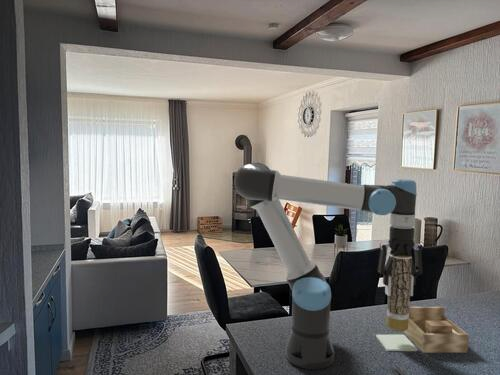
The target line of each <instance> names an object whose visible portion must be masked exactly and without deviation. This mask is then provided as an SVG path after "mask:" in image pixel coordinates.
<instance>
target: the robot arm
mask: <svg viewBox="0 0 500 375" xmlns="http://www.w3.org/2000/svg"><path fill="white" fill-rule="evenodd" d="M233 185H234V188H235V191H236V192H237V193H238V195H239V196H240V197H242V198H244V199H245V200H246V201H247V203H248V206H249V207H250V208H251V209H254V210H256V212H257V213H258V216H259V217H260V220H261V221H262V223H263V226H264V228H265V230H266V231H267V233H268V235H269V238H270V239H271V240H270V241H272V244H273V245H274V247H275V250H276V251H277V254H278V256H279V258H280V259H281V261H282V264H283V265H284V268H285V269H286V274H285V280H286V281H287V283H288V285H289V287H290V290H291V296H292V297H291V298H292V300H291V303H292V304H291V331H290V334H289V337H288V340H287V342H286V345H285V352H284V353H285V354H284V355H285V358H286V360H287V361H289V363H291V364H293V365H294V366H296V367H298V368H301V369H305V370H323V369H327V368H329V367H330V366H332V365H333V364H334V362H335V349H334V347H333V343H332V340H331V335H330V328H331V327H330V322H331V321H330V320H331V319H330V318H331V300H332V291H331V287H330V285H329V283H328V282H327V280H326V278H325V276H324V275H323V273H321V271H320V269H319V267H318V265H317V263H316V261H312V260H310V258H309V256H308V255H307V253H306V251H305V249H304V247H303V245H302V243H301V241H300V239H299V237H298V235H297V233H296V231H295V228H294V227H293V225H292V223H291V220H290V219H289V217H288V215H287V213H286V211H285V208H284V207H283V205H282V203H281V201H280V200H283V201H289V202H290V201H291V202H298V203H305V204H310V205H311V204H312V205H319V206H327V207H332V208H340V209H341V208H342V209H348V210H355V211H360V212H361V211H362V212H366V213H372V214H375V215H378V216H387V215H389V214H390V220H389V224H390V227H389V240H388V242H385V243H382V242H381V243H379V248H380V249H379V250H380V252H379V259H378V265H377V272H378V273H379V274H380V275H383V276H382V277H383V278H382V284H383V285H384V286H385V287H384V293H385V295H387V297H388V296H391V276H390V275H389V274H390V272H391V269H392V262H393V257H394V256H398V255H401V254H403V255H407V256H411V257H412V258H413V255H412V250H413V251H414V260H413V259H412V265H411V284H410V297H413V296H414V286H416V284H417V278H418V277H419V275H422V274H423V258H422V257H423V255H422V252H423V250H424V249H423V248H424V246H423V244H420V243H418V242H417V243H415V241H414V239H415V228H414V227H415V225H416V224H415V223H416V206H417V204H416V203H417V196H418V194H417V183H416V181H415V180H412V179H392V181H391V183H390V184H389V185H388V184H387V185H383V184H380V185H379V184H352V183H345V182H337V181H331V180H330V181H329V180H323V179H316V178H315V179H314V178H308V177H302V176H294V175H293V176H292V175H286V174H281V173H280V172H279V171H278V170H275V169H271V168H269V167H268V166H267V165H266V164H263V163H262V162H252V163H247V164H245V165H242V166H241V167H240V168H239V169H238V170H237V171H236V173H235V174H234V179H233ZM389 249H390V251H389V257H388V259H387V255H388V250H389ZM390 254H392V255H393V257H392V258H390Z"/></svg>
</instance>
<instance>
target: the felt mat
mask: <svg viewBox="0 0 500 375" xmlns="http://www.w3.org/2000/svg"><path fill="white" fill-rule="evenodd" d="M375 337H376V338H377V340H378V341H379V342H380V344H381V345H382V346H383V347H384V349H385V350H386V351H387V352H418V349H419V348H418V347H417V346H416V345H415V344H414V343H412V341H411V339H410V338H409V337H408V336H407V335H406V334H375Z"/></svg>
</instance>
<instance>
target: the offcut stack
mask: <svg viewBox="0 0 500 375" xmlns="http://www.w3.org/2000/svg"><path fill="white" fill-rule="evenodd" d="M452 328H453V326H452V325H451V324H450V323H448V322H447V321H426V324H425V329H426V332H425V333H457V332H456V331H454V330H453V329H452Z"/></svg>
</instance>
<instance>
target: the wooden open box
mask: <svg viewBox="0 0 500 375" xmlns="http://www.w3.org/2000/svg"><path fill="white" fill-rule="evenodd" d="M445 310H446V309H445V306H409V321H408V329H407V330H406V331H402V332H403V333H404V335H405V336H406V337H407V338H408V339H409V340H410V341H411V342H413V344H414V345H415V346H416V347H417V349H419V350H420V351H421V352H422V353H424V354H425V353H431V354H432V353H468V349H469V348H468V347H469V336H470V335H469V334H468V333H467V332H466V331H465V330H463V329H462V328H461V327H459V325H457V324H456V323H454V322H453V321H451V320H450V319H449V318H448V317H446V316H445V313H446V312H445ZM426 321H447V322H448V323H450V324H451V325H452V326H453V328H452V329H453V330H454V331H456V332H457V333H426V329H425V324H426Z"/></svg>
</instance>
